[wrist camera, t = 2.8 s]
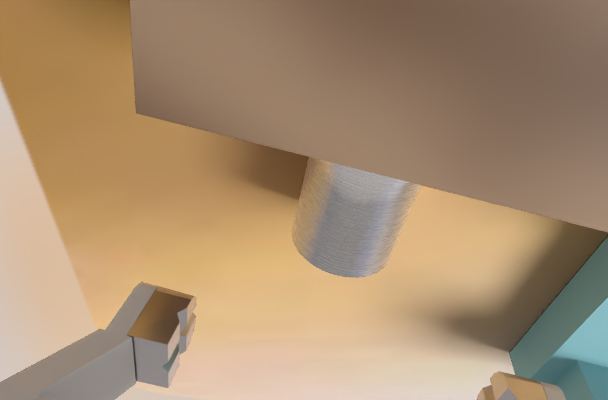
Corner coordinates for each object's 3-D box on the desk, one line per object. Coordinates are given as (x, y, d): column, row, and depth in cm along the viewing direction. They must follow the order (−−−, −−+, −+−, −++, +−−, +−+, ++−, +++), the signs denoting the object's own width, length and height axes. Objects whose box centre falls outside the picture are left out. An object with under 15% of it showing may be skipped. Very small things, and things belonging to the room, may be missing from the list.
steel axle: (418, -256, 10) (404, -346, 7) (585, -225, 9) (655, -308, 6) (308, 197, 18) (277, 254, 15) (394, 227, 18) (382, 292, 14)
